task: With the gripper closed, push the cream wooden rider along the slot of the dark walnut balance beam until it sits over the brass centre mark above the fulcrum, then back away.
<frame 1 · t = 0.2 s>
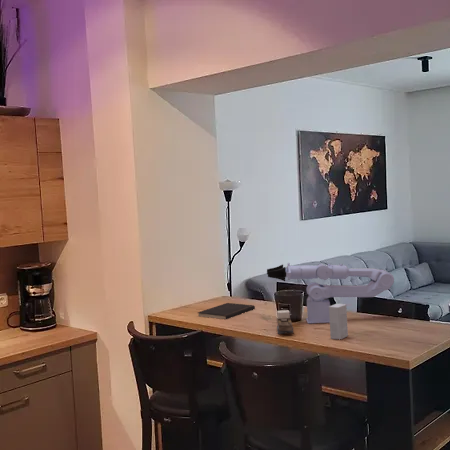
hand: (267, 273, 240), 21 cm above the worktop, tool horizontal, fingers open, 7 cm apart
hardcover book: (226, 314, 267), on the worktop
skincare box: (339, 338, 214), on the worktop
rider: (283, 315, 232), point 5 cm above the worktop, slide at 0.0 cm
beam: (285, 331, 227), on the worktop
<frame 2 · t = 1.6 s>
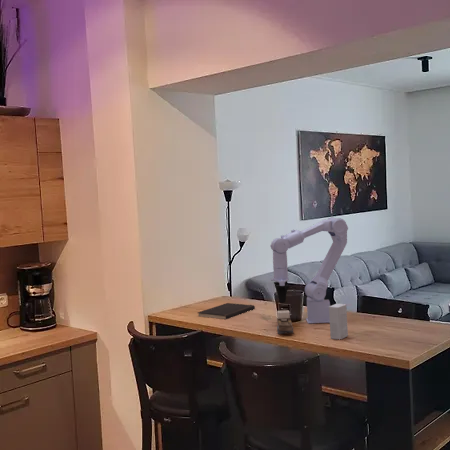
hand: (281, 300, 238), 10 cm above the worktop, tool pointing down, fingers open, 7 cm apart
nothing on the worktop moved.
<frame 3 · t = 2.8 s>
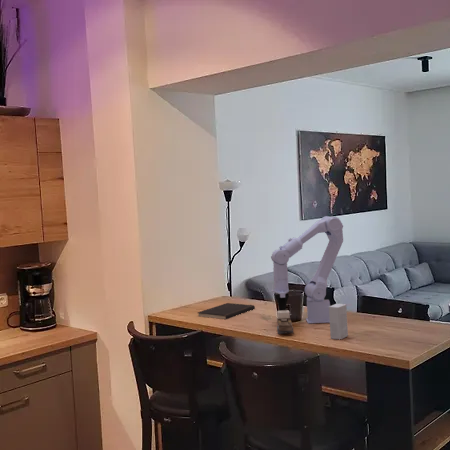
hand: (282, 311, 238), 5 cm above the worktop, tool pointing down, fingers closed
nothing on the worktop moved.
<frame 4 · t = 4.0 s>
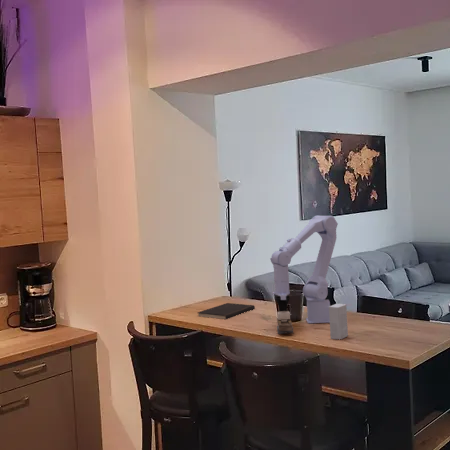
hand: (283, 314, 233), 5 cm above the worktop, tool pointing down, fingers closed
rider: (283, 316, 230), point 5 cm above the worktop, slide at 1.6 cm, touching gripper
everything else where it was.
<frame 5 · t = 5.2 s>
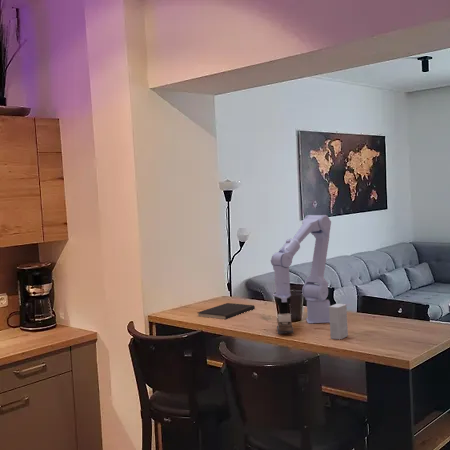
hand: (284, 317, 229), 5 cm above the worktop, tool pointing down, fingers closed
rider: (284, 318, 226), point 5 cm above the worktop, slide at 6.1 cm, touching gripper
everything else where it was.
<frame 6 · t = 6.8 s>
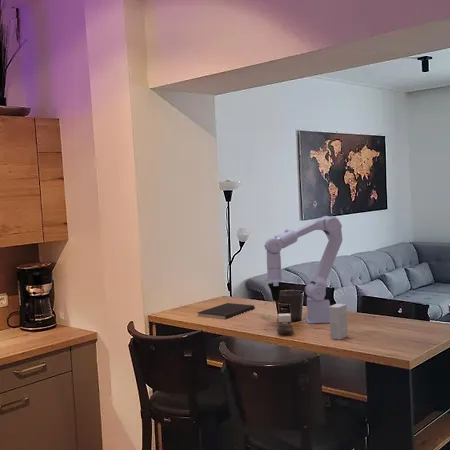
hand: (275, 300, 238), 10 cm above the worktop, tool pointing down, fingers closed
rider: (284, 318, 226), point 5 cm above the worktop, slide at 6.1 cm
everything else where it was.
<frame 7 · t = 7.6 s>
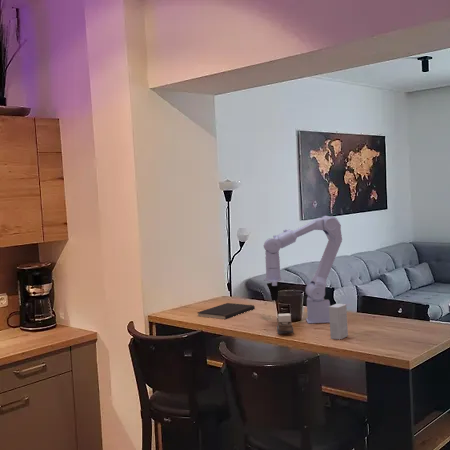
hand: (274, 300, 239), 10 cm above the worktop, tool pointing down, fingers closed
nothing on the worktop moved.
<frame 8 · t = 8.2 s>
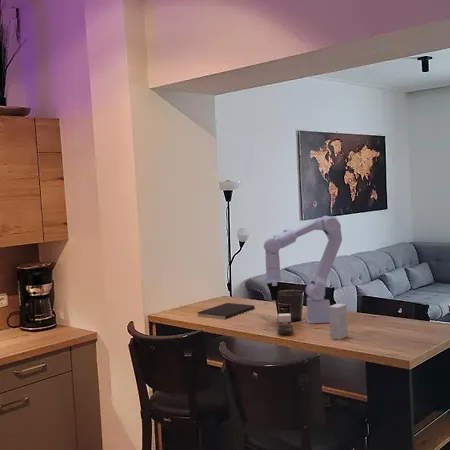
hand: (274, 300, 239), 10 cm above the worktop, tool pointing down, fingers closed
nothing on the worktop moved.
at the end: rider slide at 6.1 cm; rider moved 6.1 cm from its start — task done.
